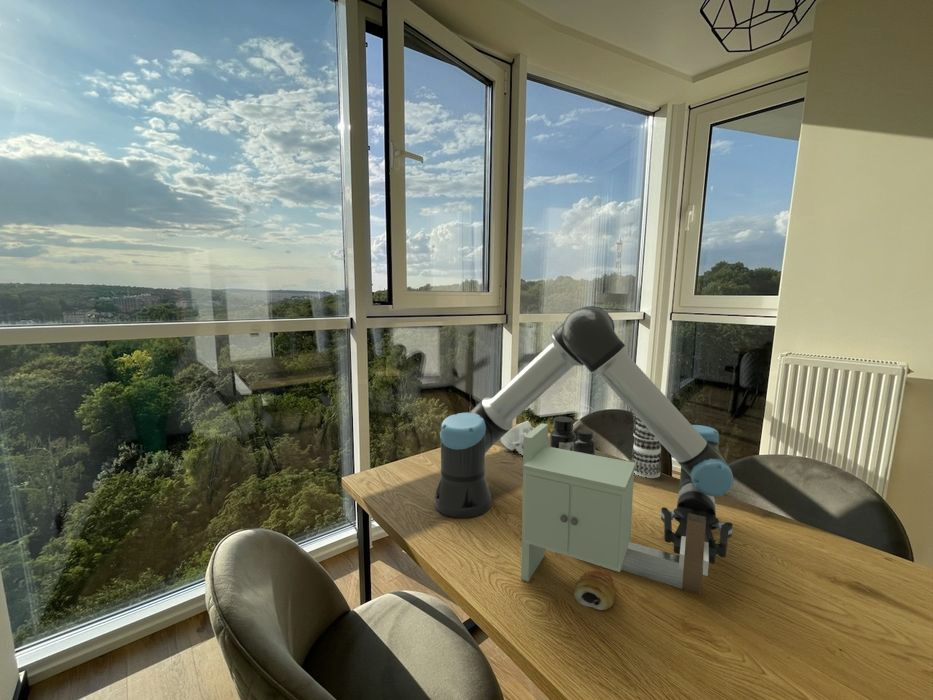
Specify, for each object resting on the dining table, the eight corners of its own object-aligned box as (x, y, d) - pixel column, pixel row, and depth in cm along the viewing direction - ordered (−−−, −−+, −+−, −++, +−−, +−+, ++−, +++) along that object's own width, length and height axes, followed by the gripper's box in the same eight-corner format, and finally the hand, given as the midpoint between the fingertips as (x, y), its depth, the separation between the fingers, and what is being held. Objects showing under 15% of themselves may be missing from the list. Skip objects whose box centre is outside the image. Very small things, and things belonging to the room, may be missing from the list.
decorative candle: (659, 468, 133) (664, 392, 130) (663, 480, 124) (668, 399, 121) (629, 464, 136) (633, 390, 132) (630, 476, 127) (635, 397, 124)
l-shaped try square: (571, 555, 88) (573, 493, 86) (575, 547, 91) (577, 487, 89) (700, 595, 76) (705, 524, 74) (700, 585, 79) (705, 517, 77)
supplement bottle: (595, 472, 130) (597, 435, 128) (573, 470, 131) (574, 434, 129) (593, 464, 136) (594, 429, 135) (572, 462, 138) (573, 427, 136)
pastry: (585, 573, 83) (586, 555, 82) (620, 585, 79) (621, 567, 79) (571, 603, 75) (572, 583, 74) (610, 618, 71) (611, 597, 71)
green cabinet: (512, 592, 77) (514, 443, 73) (538, 553, 89) (541, 423, 85) (617, 632, 68) (625, 464, 64) (630, 583, 79) (637, 438, 76)
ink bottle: (564, 458, 141) (565, 424, 139) (544, 451, 148) (544, 419, 146) (581, 452, 147) (582, 419, 145) (561, 445, 154) (562, 414, 152)
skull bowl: (533, 457, 138) (517, 423, 141) (506, 468, 147) (492, 436, 151) (551, 449, 145) (536, 417, 149) (524, 460, 155) (510, 429, 158)
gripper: (737, 532, 89) (746, 601, 69) (656, 512, 97) (643, 569, 77) (740, 499, 88) (750, 559, 68) (657, 482, 96) (645, 532, 76)
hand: (693, 564), depth 73 cm, fingers closed on l-shaped try square, 3 cm apart
